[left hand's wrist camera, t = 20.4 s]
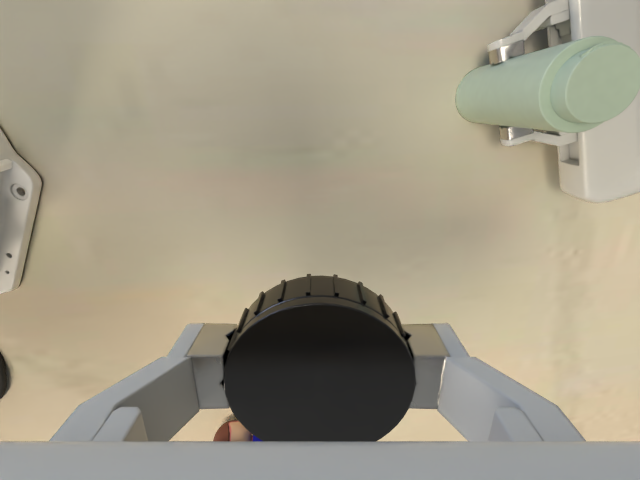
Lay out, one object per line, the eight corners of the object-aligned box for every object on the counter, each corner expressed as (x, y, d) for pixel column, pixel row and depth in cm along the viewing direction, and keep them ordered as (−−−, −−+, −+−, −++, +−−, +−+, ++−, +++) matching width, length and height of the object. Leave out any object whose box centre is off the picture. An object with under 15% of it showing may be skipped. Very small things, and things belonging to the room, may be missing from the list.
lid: (228, 270, 9) (211, 298, 8) (415, 274, 9) (432, 304, 8) (238, 411, 11) (226, 456, 10) (395, 415, 11) (407, 459, 10)
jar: (518, 99, 30) (670, 93, 16) (471, 133, 31) (577, 153, 18) (493, 53, 29) (635, 5, 15) (445, 90, 30) (537, 76, 16)
